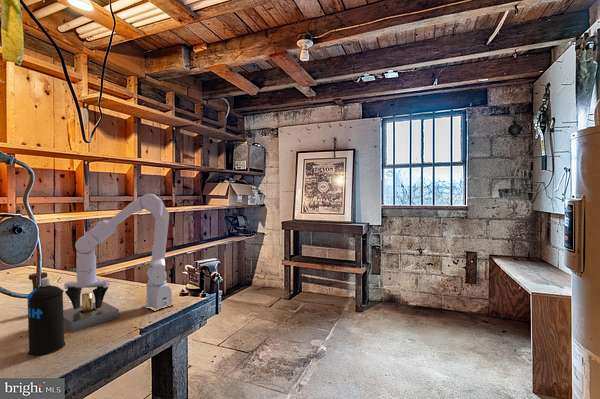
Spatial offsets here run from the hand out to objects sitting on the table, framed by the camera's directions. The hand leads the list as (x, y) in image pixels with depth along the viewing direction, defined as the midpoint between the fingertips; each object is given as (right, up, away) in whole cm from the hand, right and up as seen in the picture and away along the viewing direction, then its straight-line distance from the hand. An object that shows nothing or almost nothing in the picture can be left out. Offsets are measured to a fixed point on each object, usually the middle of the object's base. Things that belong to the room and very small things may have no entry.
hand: (87, 308), depth 109 cm
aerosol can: (+3, -4, -22) cm, 22 cm away
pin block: (0, -4, 0) cm, 4 cm away
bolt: (-23, -5, +6) cm, 24 cm away
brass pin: (0, -4, 0) cm, 4 cm away
